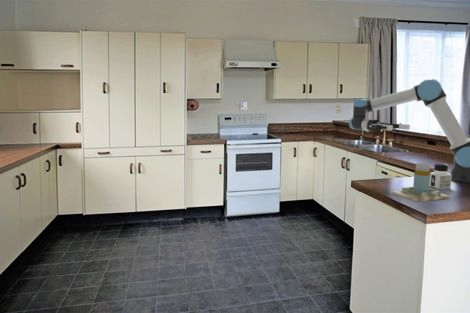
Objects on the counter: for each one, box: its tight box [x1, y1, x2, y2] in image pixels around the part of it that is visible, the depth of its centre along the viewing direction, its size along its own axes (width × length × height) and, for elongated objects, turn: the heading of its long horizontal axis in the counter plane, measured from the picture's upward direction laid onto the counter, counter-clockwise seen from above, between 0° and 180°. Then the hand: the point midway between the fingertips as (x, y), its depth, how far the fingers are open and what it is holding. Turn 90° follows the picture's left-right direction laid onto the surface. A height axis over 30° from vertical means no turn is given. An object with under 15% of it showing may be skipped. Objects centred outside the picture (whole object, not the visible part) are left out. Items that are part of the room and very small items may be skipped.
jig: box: [392, 186, 451, 203], centre depth 187 cm, size 20×16×3 cm
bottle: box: [412, 162, 431, 193], centre depth 186 cm, size 7×7×15 cm
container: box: [429, 162, 452, 190], centre depth 205 cm, size 8×8×13 cm
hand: (400, 127), depth 208 cm, fingers open, 13 cm apart
